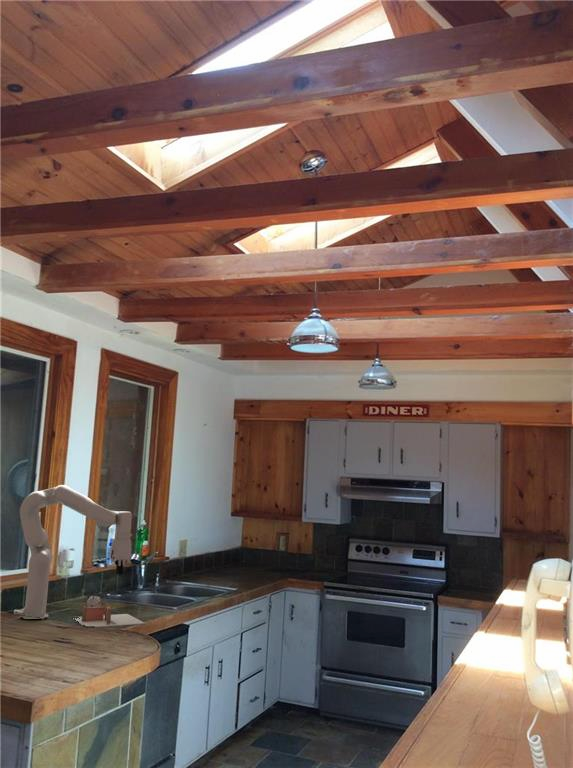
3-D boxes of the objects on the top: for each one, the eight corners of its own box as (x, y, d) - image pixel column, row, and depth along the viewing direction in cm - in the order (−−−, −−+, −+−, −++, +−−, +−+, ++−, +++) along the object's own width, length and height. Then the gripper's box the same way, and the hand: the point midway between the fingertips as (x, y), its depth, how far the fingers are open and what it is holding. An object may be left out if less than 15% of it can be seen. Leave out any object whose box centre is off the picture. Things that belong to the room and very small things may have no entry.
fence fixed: (82, 621, 314) (83, 606, 315) (80, 620, 315) (82, 605, 316) (109, 619, 321) (110, 604, 322) (108, 618, 322) (109, 603, 324)
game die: (95, 618, 343) (108, 601, 347) (92, 615, 335) (105, 598, 340) (82, 608, 345) (95, 591, 349) (78, 604, 337) (92, 588, 342)
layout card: (86, 628, 302) (86, 627, 302) (71, 618, 322) (71, 617, 322) (144, 623, 317) (144, 622, 317) (127, 614, 337) (127, 613, 337)
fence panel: (105, 619, 319) (106, 604, 320) (108, 619, 320) (110, 604, 321) (106, 623, 309) (107, 608, 310) (110, 623, 310) (111, 608, 311)
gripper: (130, 535, 341) (127, 572, 338) (105, 536, 330) (102, 574, 327) (139, 536, 336) (136, 574, 333) (114, 537, 325) (110, 576, 322)
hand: (119, 574), depth 330 cm, fingers closed
